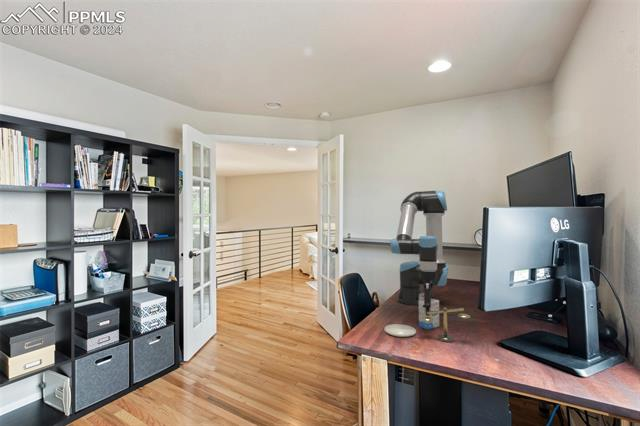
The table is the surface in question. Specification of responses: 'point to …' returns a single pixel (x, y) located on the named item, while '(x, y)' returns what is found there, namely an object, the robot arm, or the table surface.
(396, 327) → the dish
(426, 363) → the table surface
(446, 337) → the balance
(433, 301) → the ink box
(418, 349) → the table surface
